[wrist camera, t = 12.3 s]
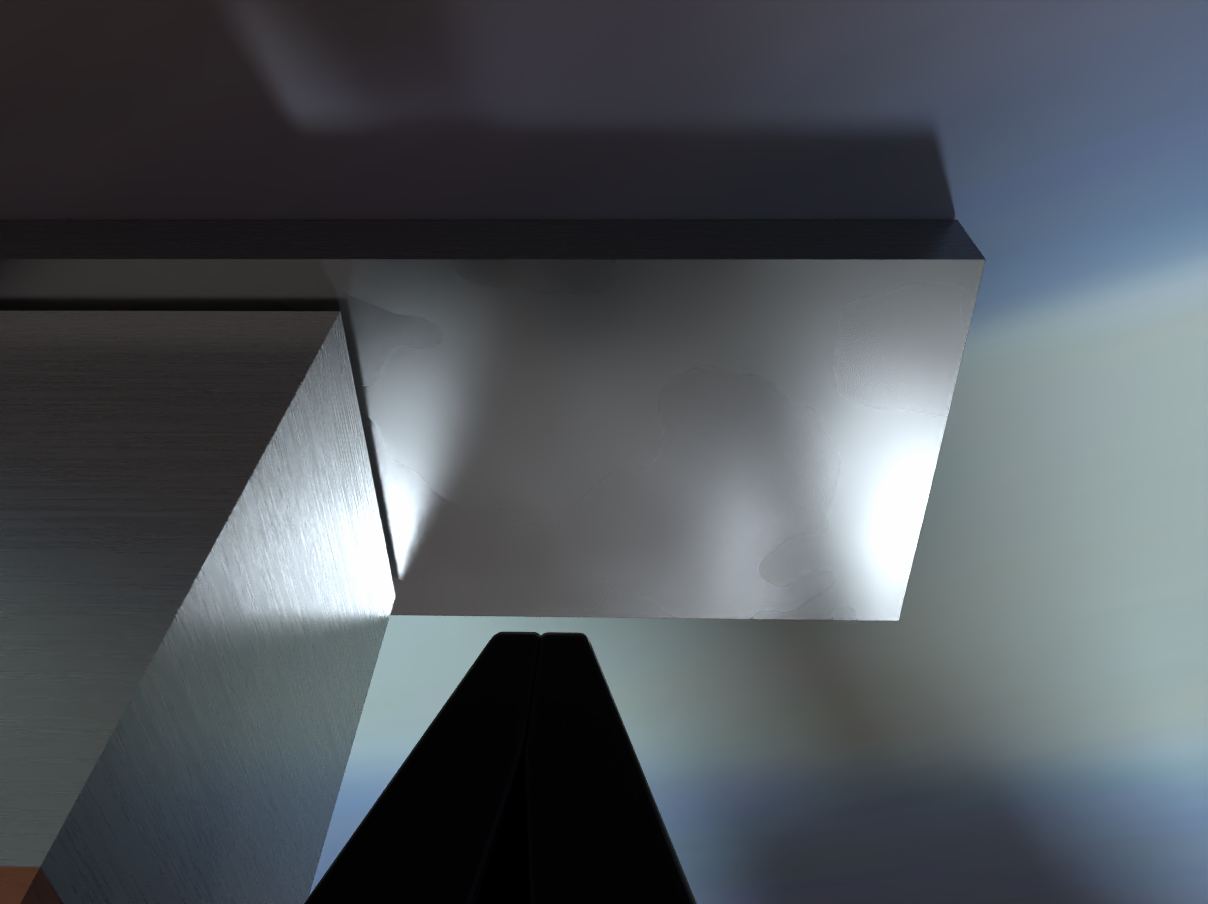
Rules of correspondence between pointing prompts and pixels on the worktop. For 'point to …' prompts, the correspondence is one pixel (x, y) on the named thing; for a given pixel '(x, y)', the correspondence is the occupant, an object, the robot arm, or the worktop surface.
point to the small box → (180, 602)
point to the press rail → (598, 393)
